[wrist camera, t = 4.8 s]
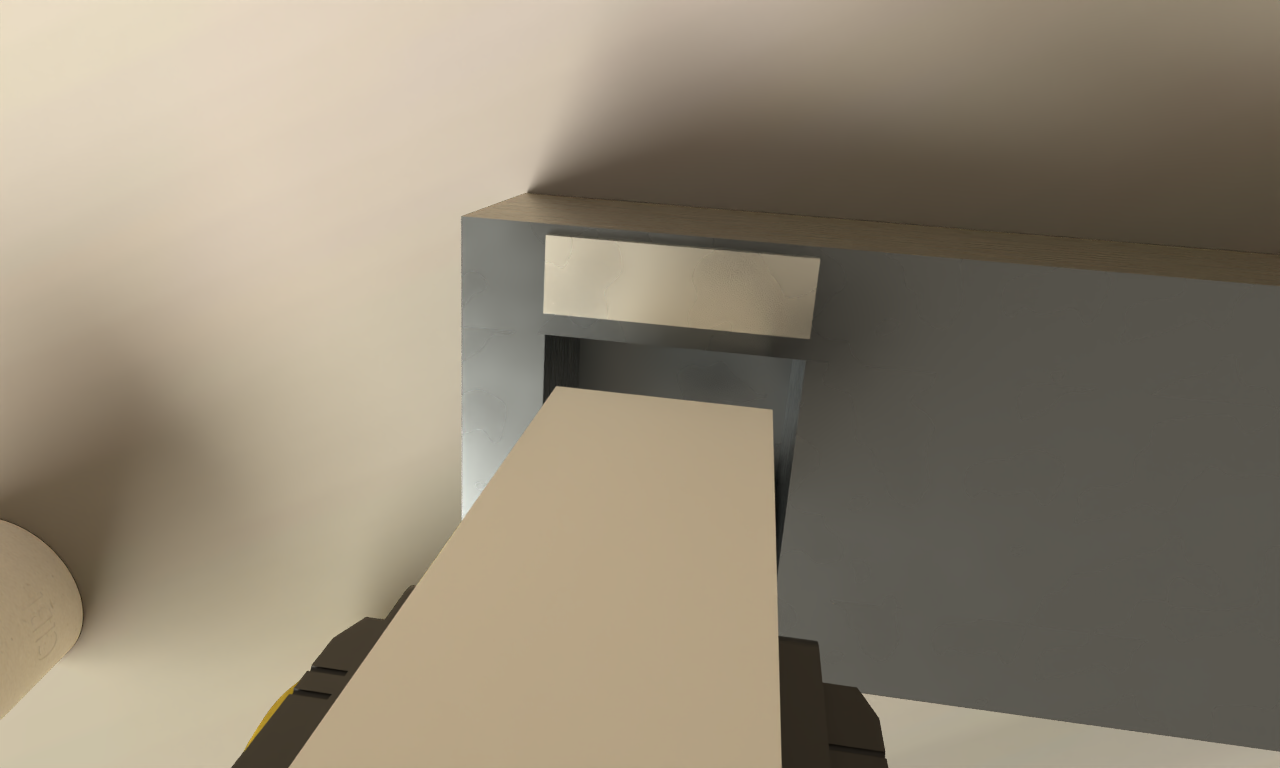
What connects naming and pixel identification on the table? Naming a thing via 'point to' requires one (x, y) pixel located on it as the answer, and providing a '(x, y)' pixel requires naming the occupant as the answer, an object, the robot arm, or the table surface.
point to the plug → (589, 605)
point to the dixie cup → (32, 612)
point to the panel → (941, 438)
